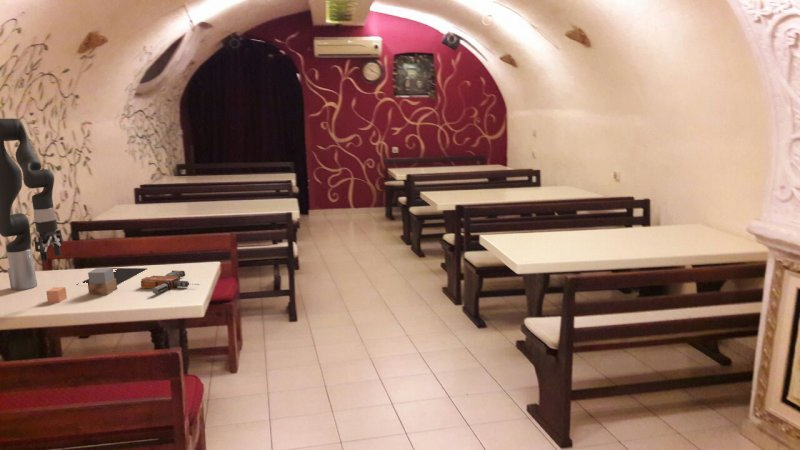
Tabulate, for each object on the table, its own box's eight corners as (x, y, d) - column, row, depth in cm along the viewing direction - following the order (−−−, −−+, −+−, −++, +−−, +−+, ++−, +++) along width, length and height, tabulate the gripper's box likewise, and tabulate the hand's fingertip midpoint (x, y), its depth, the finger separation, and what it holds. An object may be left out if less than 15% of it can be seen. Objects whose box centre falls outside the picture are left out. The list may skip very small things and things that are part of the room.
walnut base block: (89, 295, 249) (87, 284, 248) (99, 289, 257) (98, 278, 256) (107, 295, 249) (106, 284, 248) (117, 289, 257) (115, 278, 256)
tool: (166, 268, 275) (124, 285, 246) (219, 270, 270) (183, 287, 241) (166, 277, 276) (125, 294, 247) (219, 278, 271) (183, 297, 242)
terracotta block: (48, 302, 241) (46, 291, 240) (55, 298, 246) (53, 287, 245) (59, 302, 241) (57, 291, 240) (67, 298, 246) (65, 287, 245)
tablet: (110, 268, 290) (148, 268, 287) (110, 269, 290) (148, 269, 288) (74, 285, 264) (115, 285, 261) (74, 286, 264) (116, 287, 261)
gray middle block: (89, 284, 249) (88, 272, 248) (98, 279, 255) (97, 268, 254) (105, 283, 248) (104, 272, 247) (114, 278, 255) (112, 267, 254)
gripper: (47, 216, 244) (53, 253, 247) (24, 223, 230) (31, 263, 233) (64, 215, 244) (70, 253, 247) (43, 222, 230) (49, 262, 233)
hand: (51, 258), depth 240 cm, fingers open, 8 cm apart
